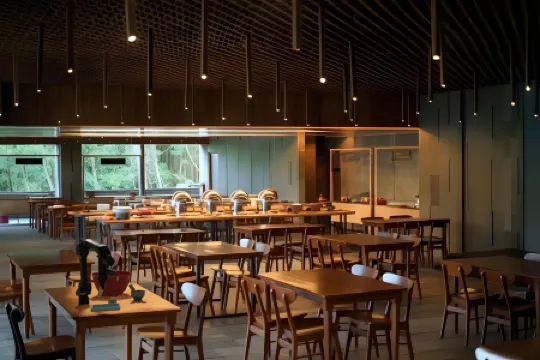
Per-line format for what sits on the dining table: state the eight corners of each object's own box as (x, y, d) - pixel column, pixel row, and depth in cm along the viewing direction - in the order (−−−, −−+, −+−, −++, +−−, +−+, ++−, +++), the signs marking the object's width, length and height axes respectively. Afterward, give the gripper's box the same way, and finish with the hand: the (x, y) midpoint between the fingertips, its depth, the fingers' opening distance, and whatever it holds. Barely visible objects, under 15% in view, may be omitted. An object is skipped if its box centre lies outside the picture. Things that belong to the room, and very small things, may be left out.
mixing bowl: (137, 291, 521) (136, 270, 521) (125, 298, 493) (124, 276, 492) (99, 291, 524) (99, 270, 523) (85, 298, 495) (85, 276, 495)
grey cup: (108, 307, 461) (108, 301, 461) (108, 305, 466) (108, 299, 466) (116, 306, 462) (116, 300, 462) (116, 305, 467) (116, 299, 467)
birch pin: (96, 297, 452) (97, 282, 452) (96, 296, 454) (97, 282, 454) (105, 297, 453) (105, 282, 453) (105, 296, 455) (105, 282, 455)
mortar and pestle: (143, 299, 488) (143, 281, 488) (146, 301, 479) (146, 283, 479) (127, 300, 483) (126, 283, 483) (130, 303, 475) (130, 285, 474)
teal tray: (90, 312, 446) (90, 308, 446) (91, 308, 458) (91, 304, 458) (120, 310, 450) (120, 306, 450) (120, 307, 461) (120, 303, 461)
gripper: (115, 266, 446) (116, 290, 446) (115, 262, 464) (115, 286, 465) (97, 266, 444) (97, 291, 444) (97, 263, 462) (98, 287, 462)
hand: (103, 289), depth 454 cm, fingers closed on birch pin, 2 cm apart
